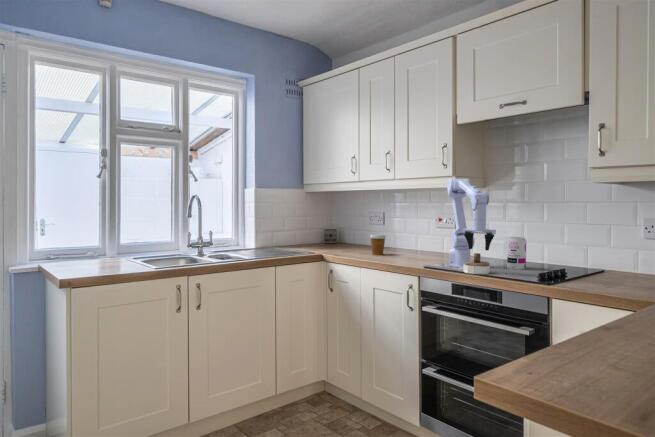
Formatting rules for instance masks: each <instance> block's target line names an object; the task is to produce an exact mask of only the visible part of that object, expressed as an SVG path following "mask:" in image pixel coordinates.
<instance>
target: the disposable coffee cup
mask: <svg viewBox="0 0 655 437" xmlns="http://www.w3.org/2000/svg"><path fill="white" fill-rule="evenodd" d="M369 238H370V245H371V253H372V254H371V255H373V256H383V255H384V250H385V241H386V234H385V233H384V234H382V233H371V234H370V236H369Z"/></svg>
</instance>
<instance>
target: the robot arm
mask: <svg viewBox="0 0 655 437" xmlns="http://www.w3.org/2000/svg"><path fill="white" fill-rule="evenodd" d="M446 183H447V184H446V190H447V195H448V197H449V198H451V204H452V209H453V210H452V212H453V215H454V223H455V224H454V225H455V230H454V231H452V233H451V238H450V239H451V240H450V242H451V246H452V248H451V249H450V250H449V259H448V260H449V261H448V262H449V265H448V267H453V268H463V264H465V262H466V261H471V250H473V247H474V246H475V241H476V239H475V237H474V236H475V235H474V234H480V235H481V234H483V235H484V241H485V242H484V243H485V248H484V250H485V251H489V250H490V246H491V243H492V240H493V239H494V238H495V235H496V234H497V230H496V229H487V205H488V204H489V202H490V197H489V194H488V192H486V191H484V192H482V191H481V190H480V189H479V188H477V186H476V185H471V181H470V179H469V178H449V179H447V182H446ZM465 197H467V198H469V199H470V204H471V210H472V228H467V223H466V217H465V216H466V215H465V210H464V203H463V198H465Z"/></svg>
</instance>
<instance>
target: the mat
mask: <svg viewBox="0 0 655 437" xmlns="http://www.w3.org/2000/svg"><path fill="white" fill-rule="evenodd" d="M490 272H495V273H503V274H505V273H506V274H512V275H514V274H517V273H519V272H521V270H518V269H505V268H496V267H494V268H493V267H490Z"/></svg>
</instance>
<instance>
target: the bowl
mask: <svg viewBox="0 0 655 437" xmlns="http://www.w3.org/2000/svg"><path fill="white" fill-rule="evenodd" d="M490 268H491V267H490V264H489V266H469V265H465V264H463V267H462V269H463V273H466V274H470V275H471V274H472V275H486V274H487V275H488V274H490V272H491V271H490Z"/></svg>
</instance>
